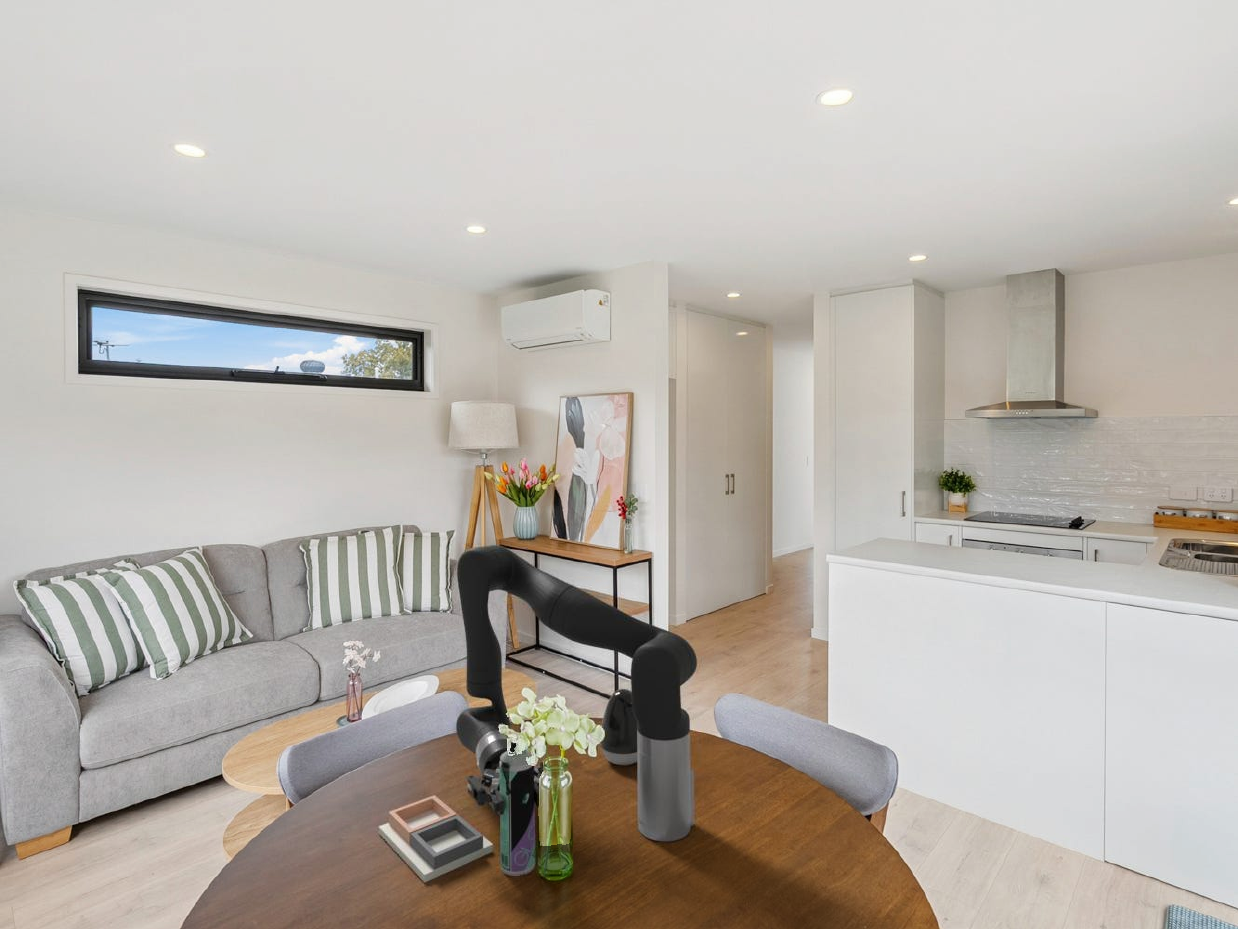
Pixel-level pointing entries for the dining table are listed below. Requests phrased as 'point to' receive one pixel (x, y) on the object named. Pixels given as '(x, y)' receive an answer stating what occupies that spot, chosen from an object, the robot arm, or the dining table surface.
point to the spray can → (517, 813)
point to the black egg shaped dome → (620, 729)
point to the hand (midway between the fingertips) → (521, 804)
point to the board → (433, 838)
